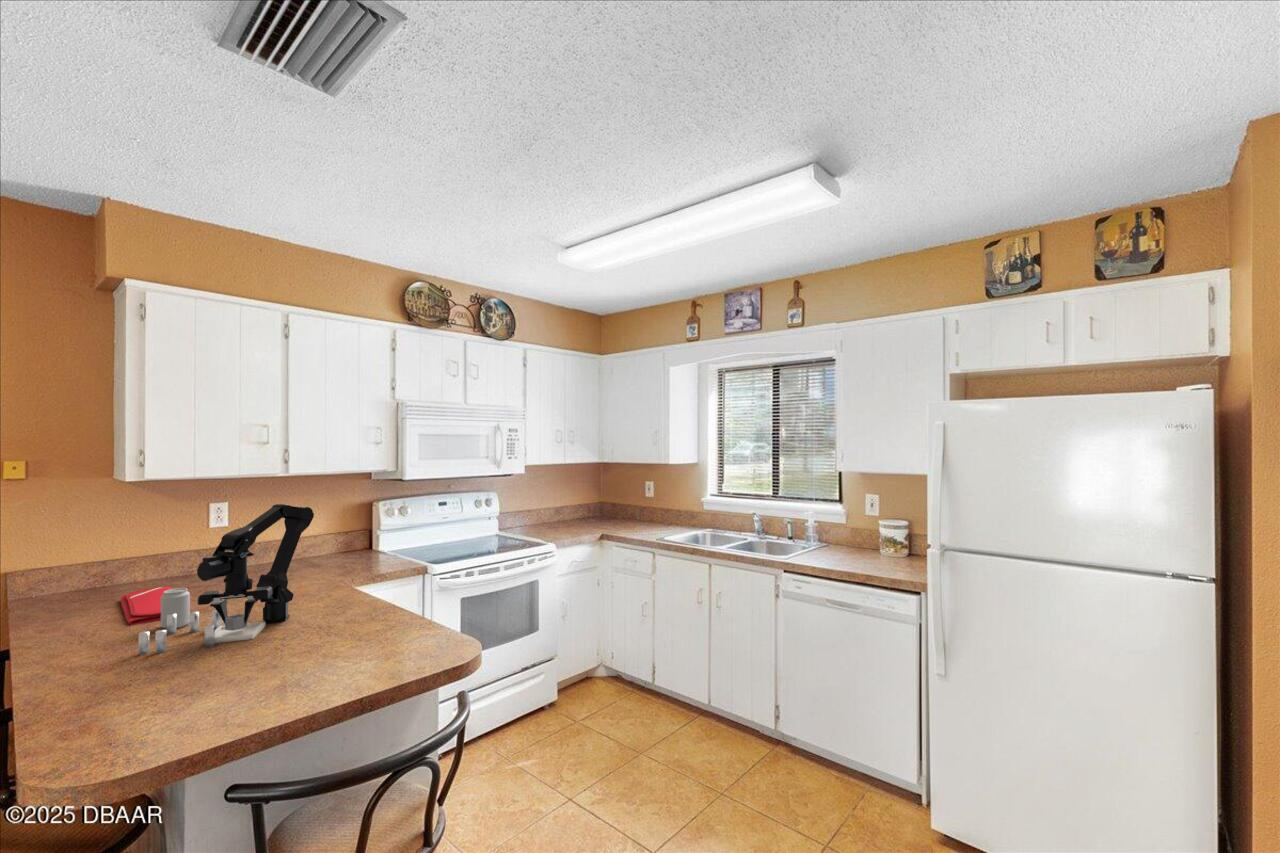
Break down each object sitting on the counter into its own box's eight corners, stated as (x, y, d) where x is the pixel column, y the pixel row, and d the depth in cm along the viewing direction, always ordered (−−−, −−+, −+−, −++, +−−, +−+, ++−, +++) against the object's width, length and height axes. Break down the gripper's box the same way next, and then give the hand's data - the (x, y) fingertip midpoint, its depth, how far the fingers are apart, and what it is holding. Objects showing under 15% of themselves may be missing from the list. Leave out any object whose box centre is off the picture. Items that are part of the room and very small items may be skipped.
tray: (265, 626, 189) (265, 621, 189) (252, 639, 177) (252, 634, 177) (220, 630, 185) (220, 626, 185) (204, 644, 173) (204, 639, 173)
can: (173, 630, 186) (173, 593, 186) (154, 629, 187) (154, 592, 187) (195, 623, 193) (195, 587, 193) (177, 622, 195) (177, 586, 195)
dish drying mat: (127, 627, 191) (127, 616, 191) (119, 602, 220) (119, 592, 220) (187, 616, 202) (187, 605, 202) (172, 594, 231) (172, 584, 231)
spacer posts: (236, 626, 190) (236, 607, 190) (212, 647, 171) (212, 626, 171) (169, 632, 184) (168, 613, 184) (136, 655, 165) (136, 634, 165)
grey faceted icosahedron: (248, 623, 185) (248, 612, 185) (242, 629, 179) (242, 618, 180) (230, 625, 183) (230, 614, 183) (223, 631, 178) (223, 620, 178)
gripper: (277, 565, 192) (277, 612, 192) (210, 569, 186) (211, 618, 186) (267, 572, 182) (267, 622, 182) (196, 578, 176) (196, 629, 176)
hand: (236, 622), depth 182 cm, fingers closed on grey faceted icosahedron, 5 cm apart
